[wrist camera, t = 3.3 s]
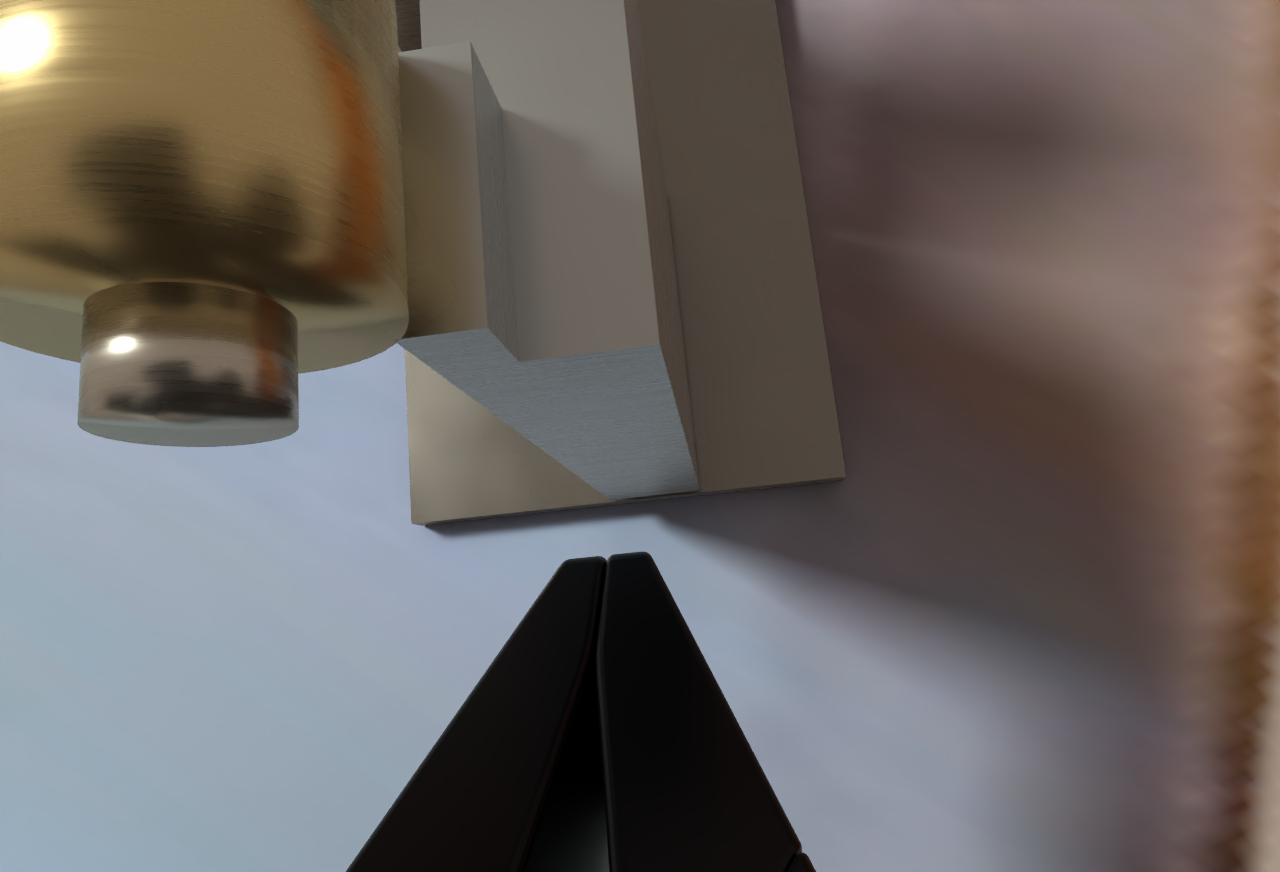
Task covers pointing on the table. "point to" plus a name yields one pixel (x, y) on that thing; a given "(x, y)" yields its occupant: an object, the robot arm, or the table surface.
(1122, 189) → the table surface
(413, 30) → the hinge base
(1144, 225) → the table surface
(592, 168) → the brass-capped grey pillar
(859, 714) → the table surface
